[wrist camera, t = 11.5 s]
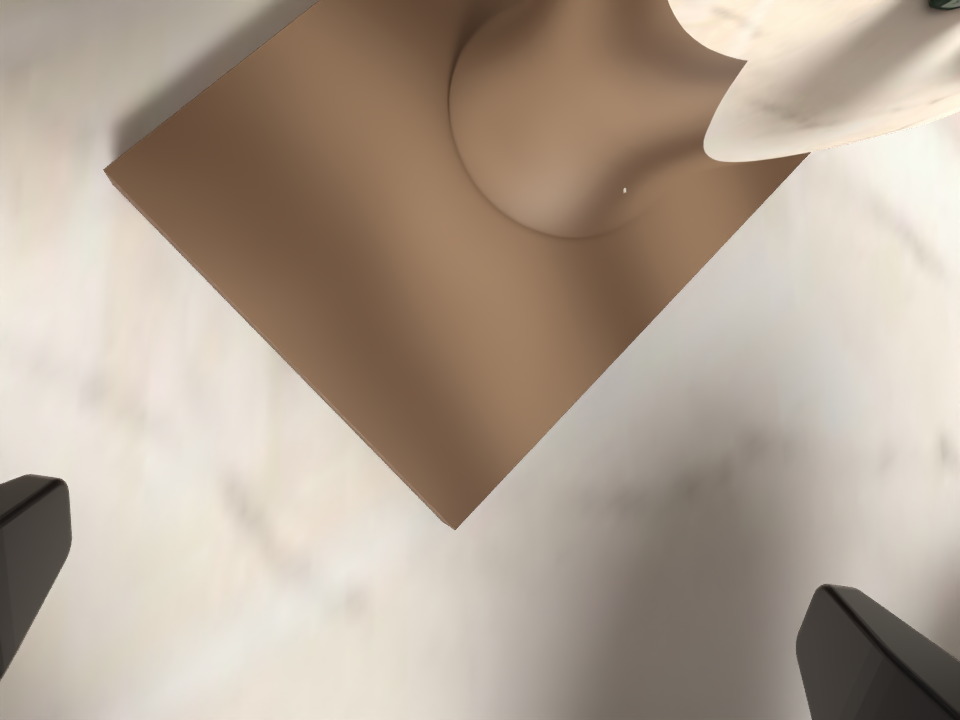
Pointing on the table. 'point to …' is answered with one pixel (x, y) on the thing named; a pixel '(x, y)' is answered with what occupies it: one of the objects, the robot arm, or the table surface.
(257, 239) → the walnut board
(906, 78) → the silver metal tumbler
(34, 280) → the table surface
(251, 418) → the table surface
